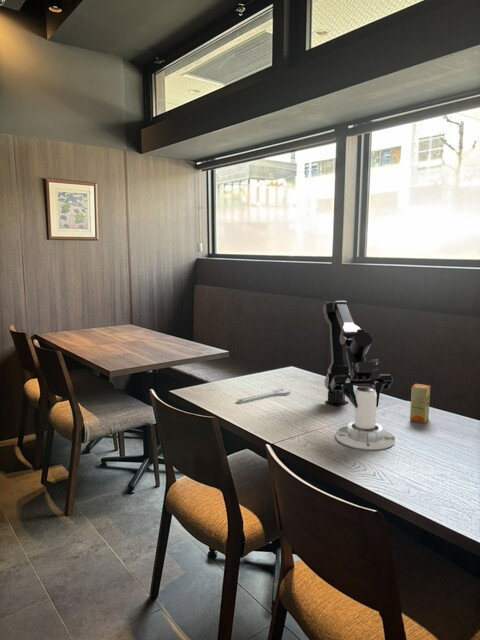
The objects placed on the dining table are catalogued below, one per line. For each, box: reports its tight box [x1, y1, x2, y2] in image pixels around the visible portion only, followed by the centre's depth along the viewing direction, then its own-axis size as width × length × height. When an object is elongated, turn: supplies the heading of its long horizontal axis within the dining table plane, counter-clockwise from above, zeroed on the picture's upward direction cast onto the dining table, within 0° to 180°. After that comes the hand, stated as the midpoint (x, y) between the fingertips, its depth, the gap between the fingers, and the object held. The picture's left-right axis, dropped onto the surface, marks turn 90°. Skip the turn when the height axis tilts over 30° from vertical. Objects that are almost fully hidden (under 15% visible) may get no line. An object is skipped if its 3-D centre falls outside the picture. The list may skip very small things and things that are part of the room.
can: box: [353, 385, 377, 429], centre depth 147 cm, size 6×6×12 cm
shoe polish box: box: [409, 383, 431, 424], centre depth 163 cm, size 5×5×12 cm
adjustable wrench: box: [236, 388, 291, 405], centre depth 190 cm, size 25×6×2 cm, turn 119°
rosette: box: [334, 420, 396, 451], centre depth 148 cm, size 18×18×4 cm
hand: (366, 407), depth 145 cm, fingers closed on can, 6 cm apart
